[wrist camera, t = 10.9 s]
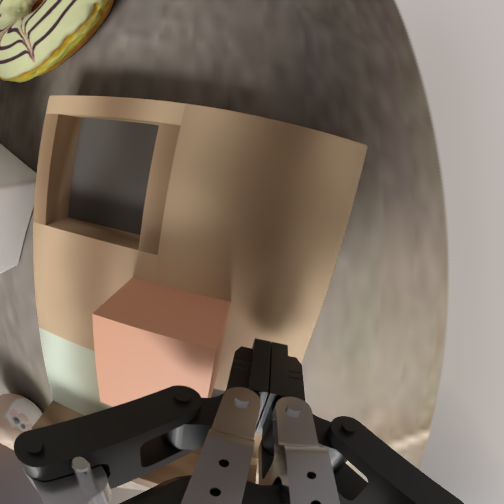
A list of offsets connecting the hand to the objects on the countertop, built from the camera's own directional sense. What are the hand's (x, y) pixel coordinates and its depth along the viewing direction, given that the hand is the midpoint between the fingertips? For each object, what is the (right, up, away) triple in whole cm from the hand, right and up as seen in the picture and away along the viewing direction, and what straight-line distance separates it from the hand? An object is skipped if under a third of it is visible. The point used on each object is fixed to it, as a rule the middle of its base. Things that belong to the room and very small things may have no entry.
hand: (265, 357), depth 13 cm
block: (-5, +1, +2) cm, 5 cm away
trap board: (-6, +1, +4) cm, 7 cm away
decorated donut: (-13, +21, -1) cm, 25 cm away
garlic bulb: (-23, -11, +9) cm, 27 cm away
